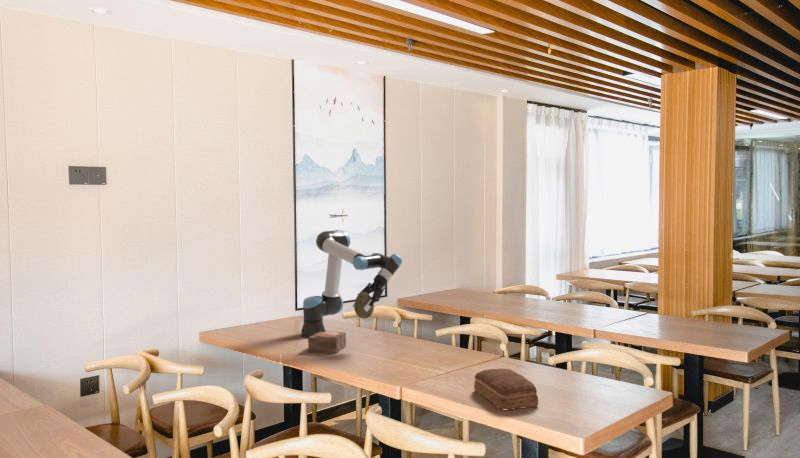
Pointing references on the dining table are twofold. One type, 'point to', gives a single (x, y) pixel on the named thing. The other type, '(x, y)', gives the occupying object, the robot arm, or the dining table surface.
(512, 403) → the bread
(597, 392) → the dining table surface
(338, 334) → the pedestal
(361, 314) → the decorative egg
